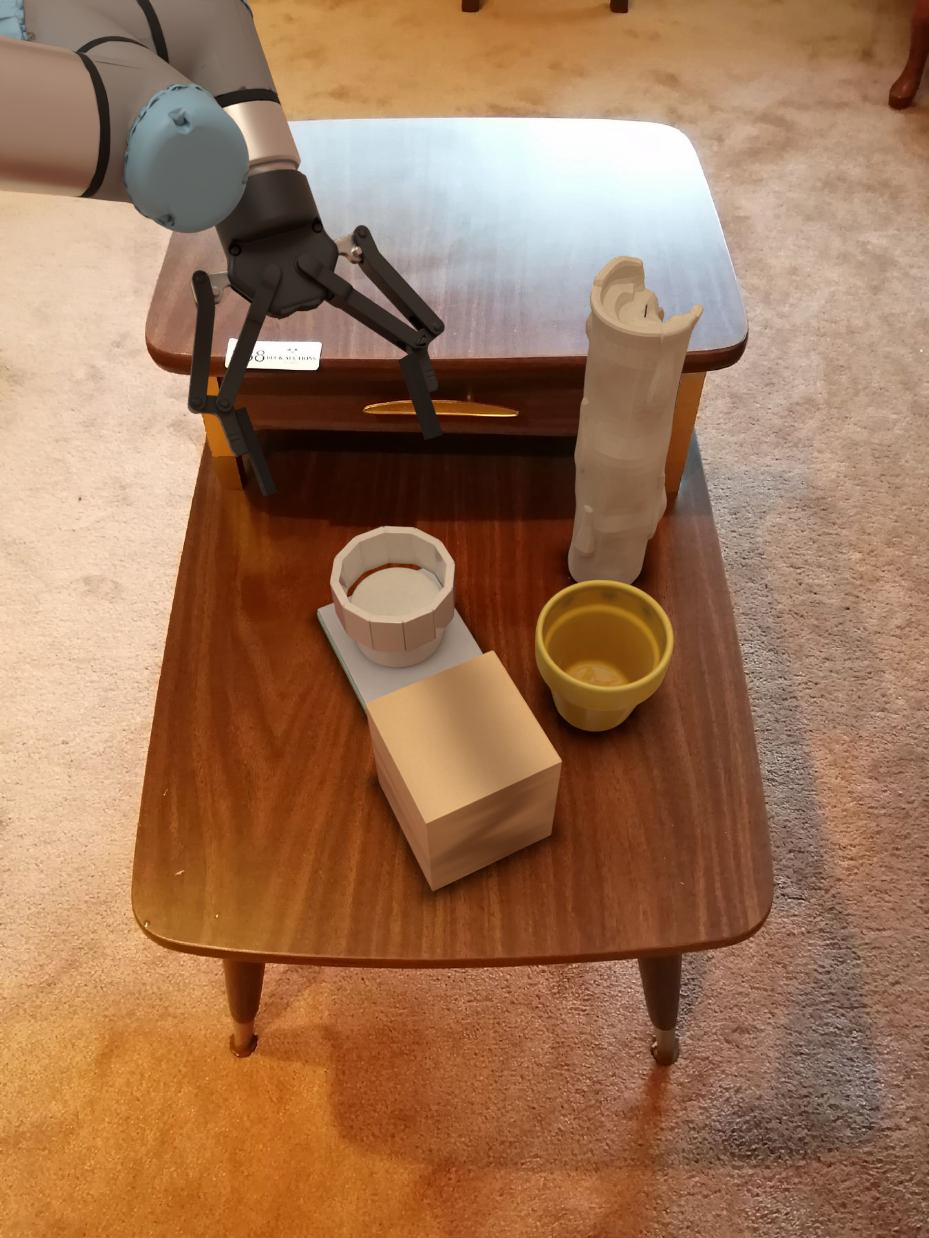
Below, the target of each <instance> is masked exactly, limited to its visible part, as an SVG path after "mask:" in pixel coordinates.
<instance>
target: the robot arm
mask: <svg viewBox="0 0 929 1238" xmlns="http://www.w3.org/2000/svg"><path fill="white" fill-rule="evenodd" d="M294 139H295V138H294V137H293V134H292V131H291V128H290V126H289V122H288V119H287V117H286V113H285V111H284V108H283V106H282V102H281V100H280V98H279V94H278V91H277V88H276V85H275V82H274V79H273V76H272V73H271V69H270V66H269V64H268V61H267V57H266V55H265V52H264V49H263V45H262V43H261V39H260V36H259V33H258V31H257V28H256V25H255V20H254V14H253V10H252V8H251V5H250V4H249V3H248V0H0V192H10V193H22V194H33V195H44V196H56V197H57V196H58V197H69V198H80V199H89V200H90V199H91V200H98V201H105V202H106V201H107V202H116V203H127V204H130V205H132V206H133V207H134V209H135V210H136V211H137V212H138V214H140V215H141V216H143V217H144V218H146V219H149V220H151V221H153V222H154V223H156V224H157V225H159V226H161V227H162V228H165V229H166V230H169V231H171V232H175V233H180V234H195V233H199V232H205V231H206V230H209V229H212V228H215V231H216V234H217V236H218V239H219V242H220V244H221V247H222V250H223V253H224V256H225V258H226V265H227V267H226V270H221V271H215V272H214V271H213V272H208V273H207V271H205V270H202V269H198V270H195V271H194V272H193V273H192V275H191V281H190V290H191V294H192V299H193V302H194V304H195V310H196V314H195V323H194V333H193V335H194V336H193V344H192V355H191V362H190V363H191V365H190V375H189V383H188V384H189V386H188V394H187V403H186V405H187V410H188V411H189V412H190V413H191V414H194V415H199V414H201V415H202V414H203V415H213V416H214V417H216V418H217V419H218V421H219V424H220V426H221V429H222V431H223V434H224V437H225V440H226V442H227V444H228V447H229V450H230V452H231V453H232V455H233V456H234V457H235V458H238V457H241V456H244V455H247V457H248V459H249V463H250V465H251V467H252V470H253V472H254V476H255V478H256V480H257V483H258V486H259V489H260V491H261V495H262V497H266V496H270V495H273V494H275V493H278V491H277V488H276V485H275V483H274V479H273V477H272V474H271V471H270V469H269V466H268V463H267V461H266V457H265V455H264V452H263V450H262V448H261V445H260V442H259V440H258V439H259V438H258V437H257V433H256V431H255V428H254V426H253V423H252V421H251V417H250V415H249V413H248V410H247V407H246V406H244V407H240V408H238V409H236V408H235V406H234V404H235V402H236V399H237V396H238V394H239V391H240V388H241V385H242V382H243V380H244V377H245V374H246V372H247V369H248V366H249V363H250V361H251V359H252V356H253V352H254V351H255V346H256V344H257V342H258V338H259V335H260V333H261V330H262V327H263V325H264V323H265V320H266V318H267V317H269V318H272V319H277V320H278V321H280V320H283V319H286V318H289V317H290V316H292V315H293V314H295V313H296V312H311V311H313V310H317V309H318V308H319V306H321V305H322V304H323V303H324V302H326V303H327V304H329V305H331V306H332V307H334V308H335V309H339V310H341V311H342V312H344V313H346V315H348V316H350V317H352V318H353V319H354V320H356V321H357V322H359V323H360V324H362V325H364V326H365V327H366V328H368V329H369V330H371V331H373V332H374V333H376V334H377V335H378V336H380V337H381V338H383V339H385V340H386V341H388V343H390V344H392V345H393V346H395V347H397V348H398V349H399V350H401V351H402V352H404V353H406V355H405V356H403V357H401V358H400V359H398V360H397V362H398V364H399V368H400V370H401V371H400V372H401V374H402V377H403V379H404V382H405V383H404V384H405V385H406V388H407V392H408V394H409V397H410V400H411V404H412V406H413V409H414V413H415V416H416V418H417V421H418V424H419V427H420V431H421V433H422V436H423V439H424V441H427V440H430V439H434V438H437V437H441V436H443V435H444V433H443V430H442V427H441V424H440V421H439V419H438V416H437V413H436V409H435V406H434V403H433V401H432V397H431V394H430V393H433V392H436V391H438V390H439V381H438V378H437V375H436V372H435V370H434V366H433V363H432V360H431V357H430V353H429V346H430V344H431V343H432V342H433V341H434V340H435V339H437V337H439V336H440V335H441V334H442V333H444V331H445V328H446V327H445V323H444V321H443V320H442V319H441V318H440V317H439V316H438V314H436V312H435V311H434V310H433V309H432V308H431V307H430V306H429V305H428V303H427V302H426V301H425V300H424V299H423V298H422V297H421V296H420V294H418V293H417V291H415V289H414V288H412V286H411V285H410V284H409V283H408V282H407V281H406V279H405V278H404V277H403V276H402V275H401V274H400V273H399V272H398V270H397V269H395V267H394V266H393V265H392V264H391V263H390V262H389V261H388V260H387V258H385V257H384V256H383V254H382V253H381V252H380V250H379V249H378V246H377V244H376V241H375V239H374V237H373V236H372V235H373V234H372V233H371V230H370V229H369V228H368V227H367V226H366V225H365V224H359V225H357V226H356V227H355V229H354V230H353V231H352V232H351V233H348V234H346V235H343V236H341V237H338V238H336V239H333V238H331V237H330V235H329V234H328V233H327V231H326V229H325V227H324V224H323V221H322V218H321V215H320V211H319V209H318V205H317V203H316V200H315V197H314V194H313V191H312V188H311V185H310V183H309V179H308V177H307V175H306V174H304V173H302V171H301V170H299V168H300V165H301V163H302V159H301V156H300V153H299V151H298V147H297V144H296V142H295V140H294ZM340 256H341V257H344V258H346V260H347V261H348V262H349V263H350V264H351V265H352V264H353V265H358V267H359V268H360V270H361V271H362V272H363V274H364V275H365V276H366V277H367V278H368V279H369V280H370V281H371V283H372V284H373V285H374V286H375V287H376V288H377V290H379V291H380V293H382V295H383V296H384V297H385V298H386V299H387V300H388V301H389V302H390V303H391V304H392V305H393V307H395V309H396V310H397V311H399V313H400V314H401V315H402V317H404V318H405V320H406V321H408V322H409V324H410V325H411V326H412V327H411V326H410V325H408V324H407V323H406V322H404V321H403V320H401V319H400V318H399V317H396V315H394V314H392V313H391V312H389V311H388V310H387V309H385V308H384V307H382V306H381V305H379V304H378V303H376V302H374V301H373V300H372V299H370V298H369V297H367V296H366V295H364V294H363V293H361V292H359V291H358V290H357V289H356V288H354V286H353V285H352V284H351V283H350V282H349V281H348V280H346V279H344V278H343V277H341V276H340V275H338V274H337V273H335V271H336V269H337V263H338V260H339V257H340ZM227 288H230V289H231V290H232V291H233V292H235V293H236V294H237V295H238V296H240V297H241V298H243V299H244V300H245V301H246V302H247V303H249V304H250V305H249V307H248V310H247V312H246V315H245V318H244V321H243V324H242V327H241V329H240V332H239V336H238V337H237V341H236V344H235V346H234V349H233V351H232V354H231V357H230V360H229V363H228V365H227V368H226V370H225V374H224V376H223V378H222V379H223V380H222V382H221V384H220V388H219V390H218V393H217V395H215V394H213V395H212V394H208V388H209V377H210V368H211V357H212V349H213V339H214V328H215V320H216V319H215V317H216V305H219V304H220V303H221V302H222V301H223V298H224V291H225V290H226V289H227Z"/></svg>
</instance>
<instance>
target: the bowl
mask: <svg viewBox="0 0 929 1238" xmlns="http://www.w3.org/2000/svg"><path fill="white" fill-rule="evenodd" d="M387 564H402V565H403V564H404V565H416V566H417V567H419V568H420V569H422V568H423V569H425V570H427V571H429V572H431V573H433V574H435V576H436V577H437V579H438V581H439V582H440V584H441V586H442V587H443V589H442V590H441V591H440V590H439V588H438V587H437V585H436V584H435V583H434V582H433V580H432V579H430V578H429V577H428V576H426V575H425V574H423V573H421V572H419V571H417V570H416V569H413V568H408V567H401V566H399V567H389V568H384V569H380V570H378V571H375V572H373V573H371V574H369V575H368V576H366V577H365V578H363V580H361V581H360V582H359V584H357V586H355V587H356V588H355V589H354V591H353V593H352V595H351V596H352V598H351V602H349V600H348V598H347V597H348V591H349V589H350V588H351V587H353V585H354V584H355V583H356V582H357V581H358V580H359V578H360V577H361V576H362V575H363V574H364V573H366V572H369V571H372V570H374V569H377V568H380V567H382V566H384V565H387ZM456 583H457V582H456V563H455V561H454V559H453V557H452V556H451V555H450V552H449V551H448V550H447V548H446V547H445V544H444V543H443V542H442V541H441V540H440V539H438V538H437V537H435V536H433V535H431V534H428V533H426V532H424V531H423V530H421V529H418V528H416V527H414V526H413V527H412V526H390V525H384V526H383V525H382V526H379V527H377V528H374V529H372V530H369V531H366V532H364V533H361V534H358V535H356V536H354V537H353V538H352V539H351V540H350V541H349V542H348V543H347V544H345V546H344V547H343V548H342V549H341V550H340V551H339V552H338V553H337V554H336V555H335V557H334V559H333V564H332V569H331V575H330V580H329V585H330V589H331V595H332V601H333V603H334V606H335V611H336V614H337V616H338V618H339V620H340V622H341V624H342V626H343V628H344V630H345V632H346V634H347V635H348V636H349V637H351V638H353V639H354V640H356V643H357V645H358V647H359V649H360V650H361V652H362V653H363V654H364V655H365V656H366V657H367V658H368V659H370V660H371V661H373V662H375V663H377V664H379V665H382V666H386V667H393V668H402V667H408V666H413V665H415V664H418V663H420V662H422V661H424V660H426V659H427V658H428V657H430V656H431V655H432V654H433V653H434V652H435V651H436V649H437V648H438V647H439V645H440V643H441V640H442V638H443V630H444V629H445V628H446V627H447V625H448V624H449V623H450V622H451V621H452V619H453V617H454V609H456V607H455V606H456V596H457V592H456V591H457V589H456V588H457V584H456Z"/></svg>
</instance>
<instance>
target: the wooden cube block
mask: <svg viewBox="0 0 929 1238" xmlns="http://www.w3.org/2000/svg"><path fill="white" fill-rule="evenodd" d="M365 706H366V712H367V715H366V716H367V717H366V718H367V723H368V727H369V733H370V741H371V745H372V751H373V756H374V763H375V767H376V773H377V779H378V783H379V785H380V787H381V789H382V791H383V793H384V795H385V797H386V799H387V801H388V804H389V806H390V807H391V810H392V811H393V814H394V816H395V817H396V821H397V822H398V823H399V826H400V828H401V830H402V832H403V835H404V836H405V839H406V840H407V842H408V844H409V846H410V849H411V851H412V853H413V855H414V856H415V859H416V861H417V863H418V866H419V867H420V870H421V871H422V873H423V875H424V877H425V879H426V881H427V883H428V885H429V887H430V889H431V891H432V892H435V891H437V890H439V889H441V888H443V887H445V886H448V885H449V884H452V883H454V882H457V881H458V880H461V879H462V878H464V877H467V876H468V875H471V874H472V873H475V872H476V871H479V870H481V869H483V868H485V867H487V866H489V865H491V864H494V863H495V862H497V861H500V860H501V859H504V858H506V857H508V856H510V855H512V854H514V853H516V852H519V851H520V850H523V849H525V848H526V847H529V846H531V845H533V844H535V843H537V842H539V841H542V840H544V839H546V838H548V837H550V836H551V835H552V832H553V824H554V819H555V813H556V811H555V810H556V806H557V805H556V804H557V800H558V799H557V798H558V792H559V791H558V790H559V785H560V779H561V771H562V764H563V760H562V759H561V757H560V756H559V754H558V752H557V750H556V749H555V747H554V746H553V744H552V742H551V741H550V740H549V739H550V738H548V736H547V734H546V733H545V731H544V729H543V728H542V726H541V724H540V723H539V721H538V720H537V718H536V716H535V715H534V713H533V711H532V709H530V706H529V705H528V703H527V702H526V700H525V699H524V698H523V695H522V694H521V692H520V690H519V689H518V687H517V686H516V683H514V681H513V679H512V678H511V676H510V674H509V673H508V671H507V669H506V668H505V667H504V665H503V663H502V661H501V660H500V658H499V657H498V655H497V654H496V652H495V651H494V650H490V651H487V652H485V653H483V655H480V656H478V657H475V658H473V659H471V660H468V661H466V662H463V663H461V664H459V665H456V666H454V667H451V668H449V669H447V670H444V671H442V672H440V673H437V674H435V675H432V676H430V677H428V678H425V679H423V680H420V681H418V682H416V683H413V684H411V685H408V686H406V687H404V688H401V689H399V690H396V691H394V692H392V693H389V694H387V695H385V696H382V697H380V698H377V699H375V700H373V701H370V702H368V703H366V704H365Z"/></svg>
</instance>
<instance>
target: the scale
mask: <svg viewBox="0 0 929 1238" xmlns="http://www.w3.org/2000/svg"><path fill="white" fill-rule="evenodd" d="M416 571H419V572H421V573H423V574H425V575H426V576H428V577H429V578H430V579H432V580H433V582H434V583H435V584H436V585H437V587H438V588H439V590H440V591H441V590H442V589H443V586H442V584H441V583H440V581H439V579H438V578H437V576H436V575H435V574H433V573H431V572H429V571H427V570H425V569H423V568H420V569H418V570H416ZM347 598H348V600H349V602H351V598H352V595H350V596H347ZM316 615H317V620H318V621H319V624H320V626H321V628H322V629H323V631H324V634H325V635H326V638H327V639H328V642H329V644H330V645H331V647H332V649H333V651H334V653H335V655H336V657H337V659H338V661H339V663H340V665H341V667H342V669H343V671H344V673H345V675H346V677H347V679H348V681H349V683H350V685H351V687H352V689H353V691H354V693H355V695H356V697H357V699H358V701H359V703H360V705H361V708H362V709H363V711H364V713H365V715H366V716H367V712H366V706H365V704H366V703H368V702H370V701H373V700H375V699H377V698H380V697H382V696H385V695H387V694H389V693H392V692H394V691H396V690H399V689H401V688H404V687H406V686H408V685H411V684H413V683H416V682H418V681H420V680H423V679H425V678H428V677H430V676H432V675H435V674H437V673H440V672H442V671H444V670H447V669H449V668H451V667H454V666H456V665H459V664H461V663H463V662H466V661H468V660H471V659H473V658H475V657H478V656H480V655H483V654H484V653H483V651H482V650H481V647H479V645H478V643H477V641H476V639H475V638H474V636H473V635H472V633H471V632H470V630H469V628H468V627H467V625H466V623H465V622H464V620H463V618H462V617H461V615H460V614H459V612H458V610H457V609H456V608H455V609H454V617H453V619H452V621H451V622H450V623H449V624H448V625H447V627H446V628H445V629H444V630H443V638H442V640H441V643H440V645H439V647H438V648H437V649H436V651H435V652H434V653H433V654H432V655H431V656H430V657H428V658H427V659H426V660H424V661H422V662H420V663H418V664H415V665H413V666H408V667H402V668H393V667H386V666H382V665H379V664H377V663H375V662H373V661H371V660H370V659H368V658H367V657H366V656H365V655H364V654H363V653H362V652H361V650H360V649H359V647H358V645H357V643H356V640H354V639H353V638H351V637H349V636H348V635H347V634H346V632H345V630H344V628H343V626H342V624H341V622H340V620H339V618H338V616H337V614H336V611H335V606H334V602H332V603H329V604H327V605H324V606H322V607H319V608H318V609H317V612H316Z"/></svg>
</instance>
